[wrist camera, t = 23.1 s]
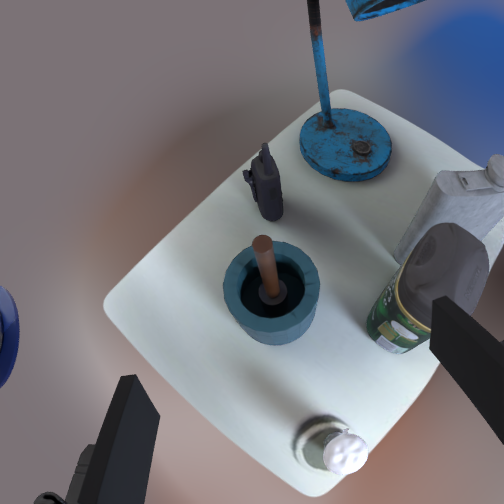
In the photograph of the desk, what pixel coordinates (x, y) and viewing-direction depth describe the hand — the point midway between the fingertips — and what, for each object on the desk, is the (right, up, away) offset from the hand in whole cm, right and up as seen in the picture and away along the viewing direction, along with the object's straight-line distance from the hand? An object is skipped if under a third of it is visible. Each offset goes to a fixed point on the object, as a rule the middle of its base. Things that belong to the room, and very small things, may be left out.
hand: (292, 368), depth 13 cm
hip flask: (+26, +5, +30) cm, 40 cm away
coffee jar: (+18, -4, +27) cm, 32 cm away
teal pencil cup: (+1, -2, +30) cm, 30 cm away
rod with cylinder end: (+1, -2, +29) cm, 29 cm away
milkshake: (+9, -18, +21) cm, 30 cm away
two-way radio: (+1, +11, +36) cm, 38 cm away
